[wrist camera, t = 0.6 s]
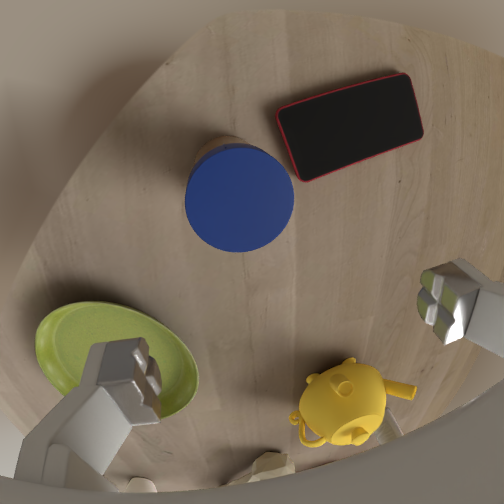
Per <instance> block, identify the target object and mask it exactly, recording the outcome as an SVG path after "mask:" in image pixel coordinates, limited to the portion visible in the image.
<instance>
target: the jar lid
mask: <svg viewBox="0 0 504 504" xmlns="http://www.w3.org/2000/svg"><path fill="white" fill-rule="evenodd" d="M293 206H294V190H293V185H292V182H291V179H290V177H289V175H288V173H287V172H286V170H285V169H284V167H283V166H282V165H281V164H280V163H279V162H278V161H277V160H276V159H275V158H273V157H272V156H270V155H269V154H268V153H266V152H265V151H263V150H262V149H260V148H258V147H256V146H253V145H250V144H245V143H229V144H223V145H221V146H218V147H216V148H214V149H212V150H210V151H209V152H207V153H206V154H205V155H203V156H202V157H201V158H200V159H199V160H198V162H197V163H196V164H195V166H194V167H193V169H192V171H191V173H190V176H189V179H188V183H187V188H186V194H185V210H186V214H187V218H188V220H189V223H190V225H191V227H192V228H193V230H194V231H195V232H196V234H197V235H198V236H199V237H200V238H201V239H202V240H203V241H205V242H206V243H207V244H209V245H211V246H213V247H215V248H217V249H220V250H223V251H228V252H247V251H252V250H255V249H258V248H261V247H263V246H265V245H267V244H268V243H270V242H271V241H272V240H274V239H275V238H276V237H277V236H278V235H279V234H280V233H281V232H282V231H283V229H284V228H285V227H286V225H287V223H288V221H289V219H290V217H291V214H292V211H293Z"/></svg>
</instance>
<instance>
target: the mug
mask: <svg viewBox="0 0 504 504" xmlns="http://www.w3.org/2000/svg"><path fill="white" fill-rule="evenodd" d="M124 492H132V493H145V492H157V490H156V488H155V486H154V484H153V482H152V481H150V480H148V479H145V478H132V479H131V480H130V482H129V484H128V485H127V487H126V488H125V490H124Z"/></svg>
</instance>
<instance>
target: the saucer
mask: <svg viewBox="0 0 504 504" xmlns="http://www.w3.org/2000/svg"><path fill="white" fill-rule="evenodd" d="M137 337H143V338H145V340H146V342H147V344H148V346H149V355H150V356H151V357H153V358H155V360H156V362H157V364H158V366H159V370H160V373H161V379H162V391H161V392H160V393H159V395H158V396H157V397H158V399H159V400H160V402H161V419H164V418H167V417H170V416H172V415H174V414H176V413H178V412H180V411H181V410H182V409H184V408H185V407H186V406H187V405H188V404H189V403H190V402H191V401H192V399H193V398H194V396H195V394H196V392H197V389H198V385H199V372H198V367H197V364H196V361H195V359H194V357H193V355H192V354H191V352H190V351H189V349H188V348H187V347H186V345H185V344H184V343H183V342H182V340H181V339H180V338H179V337H178V336H177V335H176V334H175V333H173V332H172V331H171V330H170V329H169V328H168V327H166V326H165V325H164V324H162V323H161V322H159V321H158V320H156V319H155V318H153V317H151V316H149V315H147V314H146V313H143V312H141V311H139V310H137V309H134V308H131V307H128V306H125V305H121V304H117V303H112V302H105V301H82V302H76V303H71V304H67V305H65V306H62V307H59V308H57V309H55V310H54V311H52V312H51V313H49V314H48V315H47V316H46V317H45V318H44V319H43V320H42V322H41V323H40V325H39V327H38V329H37V331H36V335H35V353H36V357H37V360H38V363H39V365H40V367H41V369H42V371H43V373H44V374H45V376H46V377H47V379H48V380H49V382H50V383H51V384H52V385H53V386H54V387H55V388H56V389H57V390H58V391H59V392H60V393H61V394H62V395H63V396H66V395H67V394H68V393H69V392H70V391H71V390H72V389H73V388H74V387H79V383H80V380H81V376H82V373H83V369H84V366H85V363H86V359H87V356H88V353H89V350H90V347H91V345H93V344H94V343H101V342H109V341H114V340H122V339H130V338H137Z"/></svg>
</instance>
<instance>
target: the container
mask: <svg viewBox="0 0 504 504" xmlns="http://www.w3.org/2000/svg"><path fill="white" fill-rule="evenodd" d="M374 434H375V436H376V438H377V440H378V442H379V445H382V444H384V443H387V442H389V441H391V440H394V439H396V438H398V437H401V436H403V433H402V431H401V429H400V427H399V425H398V424H397V422H396V420H395V418H394V416H393V414H392V413H391V411H390V409H389V408H385V412H384V417H383V420H382V423H381V425H380V426H379V427H378V429H377V430H376V431H374Z"/></svg>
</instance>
